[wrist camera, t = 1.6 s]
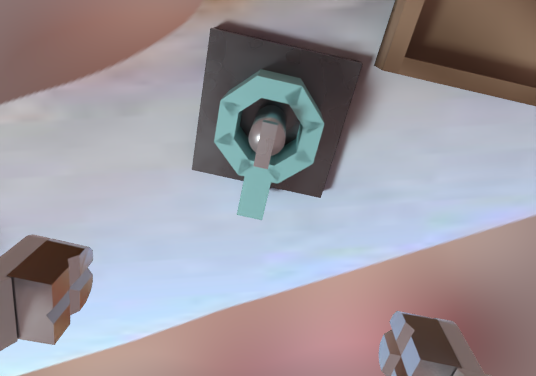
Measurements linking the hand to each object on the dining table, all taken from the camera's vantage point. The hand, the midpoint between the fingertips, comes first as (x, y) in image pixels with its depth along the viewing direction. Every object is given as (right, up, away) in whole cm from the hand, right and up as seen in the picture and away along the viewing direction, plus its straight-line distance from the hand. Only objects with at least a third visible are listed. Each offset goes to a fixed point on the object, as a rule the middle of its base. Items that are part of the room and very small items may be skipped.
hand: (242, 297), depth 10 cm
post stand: (+1, +8, +17) cm, 19 cm away
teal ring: (+1, +6, +16) cm, 18 cm away
